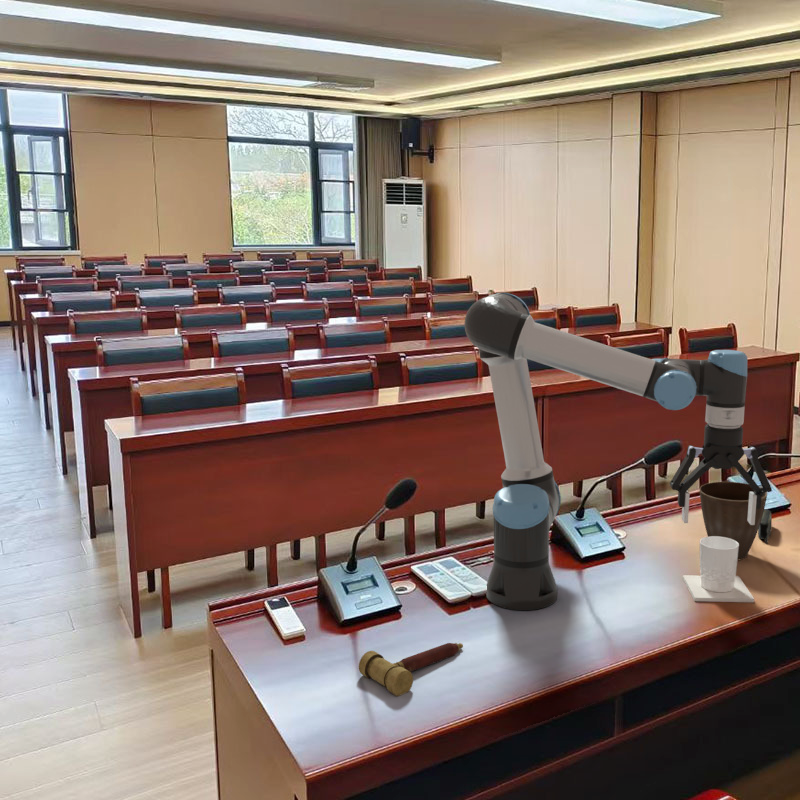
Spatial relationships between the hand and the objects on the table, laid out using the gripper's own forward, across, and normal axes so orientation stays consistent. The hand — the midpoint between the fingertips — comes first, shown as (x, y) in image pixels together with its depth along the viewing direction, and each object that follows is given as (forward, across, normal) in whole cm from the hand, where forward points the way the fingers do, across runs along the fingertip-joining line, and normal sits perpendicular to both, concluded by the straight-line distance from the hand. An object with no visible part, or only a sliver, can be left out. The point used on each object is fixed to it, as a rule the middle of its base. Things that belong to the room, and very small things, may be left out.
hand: (717, 522), depth 181 cm
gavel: (+17, -60, -37) cm, 73 cm away
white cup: (+15, +1, 0) cm, 15 cm away
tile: (+15, +1, 0) cm, 15 cm away
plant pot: (+16, +9, +21) cm, 27 cm away
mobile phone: (+16, +21, +36) cm, 45 cm away
